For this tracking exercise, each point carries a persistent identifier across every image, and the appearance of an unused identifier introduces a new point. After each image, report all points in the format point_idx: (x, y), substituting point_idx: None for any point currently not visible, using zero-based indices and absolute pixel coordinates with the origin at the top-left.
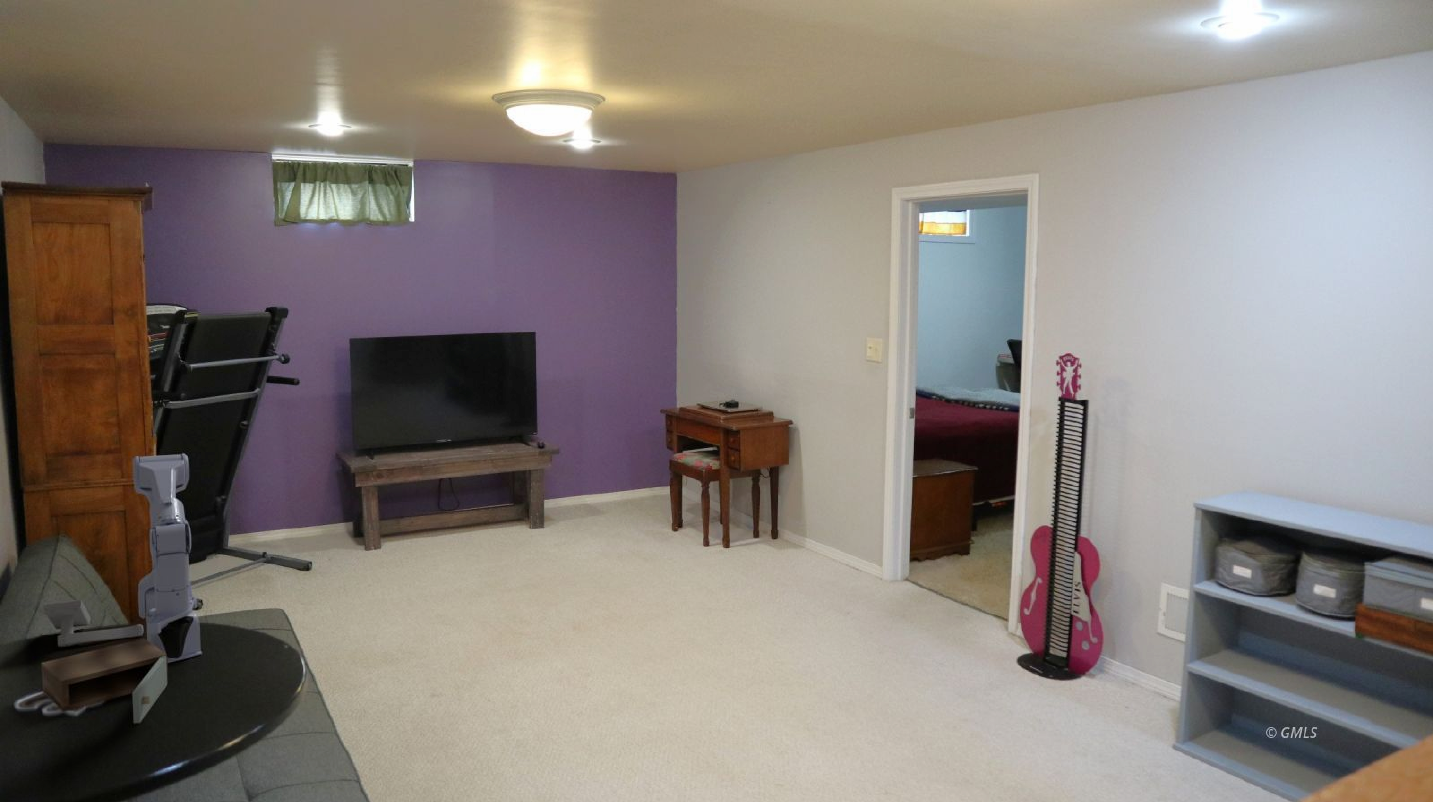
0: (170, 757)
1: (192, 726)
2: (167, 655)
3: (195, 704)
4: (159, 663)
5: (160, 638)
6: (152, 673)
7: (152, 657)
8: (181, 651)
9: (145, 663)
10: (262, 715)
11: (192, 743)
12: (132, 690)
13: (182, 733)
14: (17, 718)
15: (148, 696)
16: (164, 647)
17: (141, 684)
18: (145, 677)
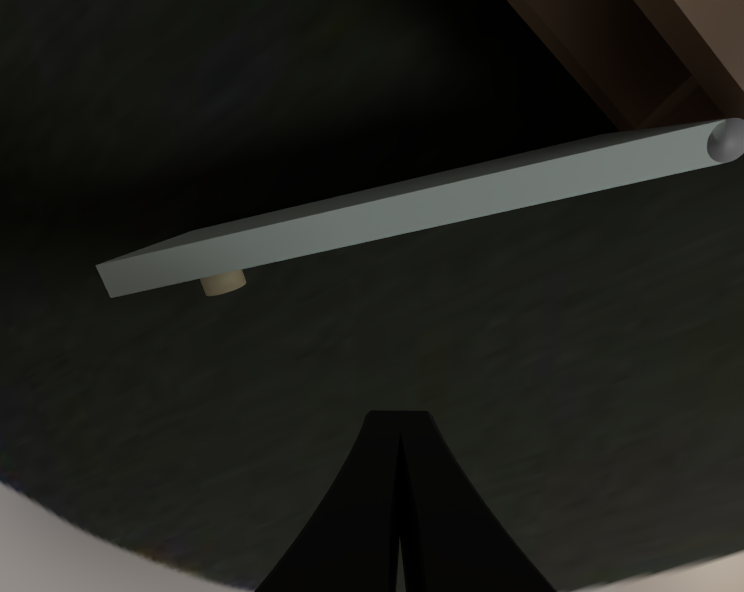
0: (20, 460)
1: (219, 435)
2: (362, 427)
3: (392, 372)
4: (585, 182)
5: (262, 585)
6: (398, 229)
7: (736, 49)
8: (400, 534)
9: (664, 25)
10: None
11: (114, 480)
12: (527, 14)
13: (166, 427)
14: None
15: (217, 291)
16: (337, 476)
17: (217, 253)
18: (330, 217)
